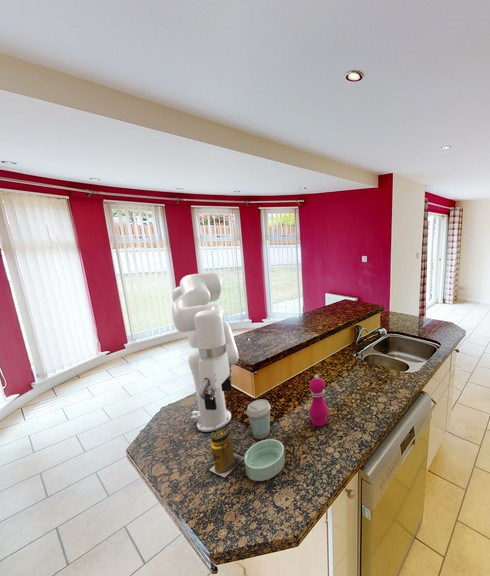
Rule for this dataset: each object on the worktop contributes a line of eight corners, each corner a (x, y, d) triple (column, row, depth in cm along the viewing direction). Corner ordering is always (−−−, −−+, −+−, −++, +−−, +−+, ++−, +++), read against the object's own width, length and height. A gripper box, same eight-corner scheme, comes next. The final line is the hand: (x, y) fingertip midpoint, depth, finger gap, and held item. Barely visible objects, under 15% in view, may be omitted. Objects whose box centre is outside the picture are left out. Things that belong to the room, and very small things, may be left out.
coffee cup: (249, 429, 109) (245, 401, 106) (272, 423, 111) (269, 396, 109) (249, 444, 101) (246, 414, 98) (274, 437, 104) (271, 408, 101)
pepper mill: (325, 428, 108) (322, 380, 104) (307, 426, 109) (304, 379, 105) (330, 416, 115) (328, 371, 111) (313, 414, 116) (310, 370, 112)
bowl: (239, 482, 85) (237, 468, 84) (254, 451, 97) (253, 439, 96) (278, 482, 85) (277, 468, 84) (289, 451, 97) (288, 439, 96)
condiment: (208, 470, 90) (203, 437, 88) (229, 451, 98) (225, 421, 95) (224, 478, 87) (219, 444, 85) (245, 458, 95) (241, 426, 92)
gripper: (215, 338, 95) (221, 384, 98) (182, 363, 78) (191, 417, 81) (237, 338, 94) (242, 384, 98) (209, 363, 77) (216, 417, 81)
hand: (219, 399), depth 90 cm, fingers open, 9 cm apart
